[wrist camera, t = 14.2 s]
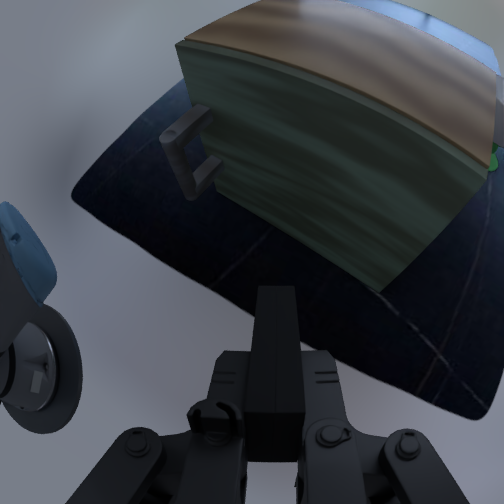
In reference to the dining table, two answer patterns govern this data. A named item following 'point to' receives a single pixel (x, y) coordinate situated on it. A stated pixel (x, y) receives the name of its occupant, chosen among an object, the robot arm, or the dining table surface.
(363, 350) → the dining table surface
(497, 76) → the cup
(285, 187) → the cupboard door
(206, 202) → the dining table surface
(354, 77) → the cupboard
